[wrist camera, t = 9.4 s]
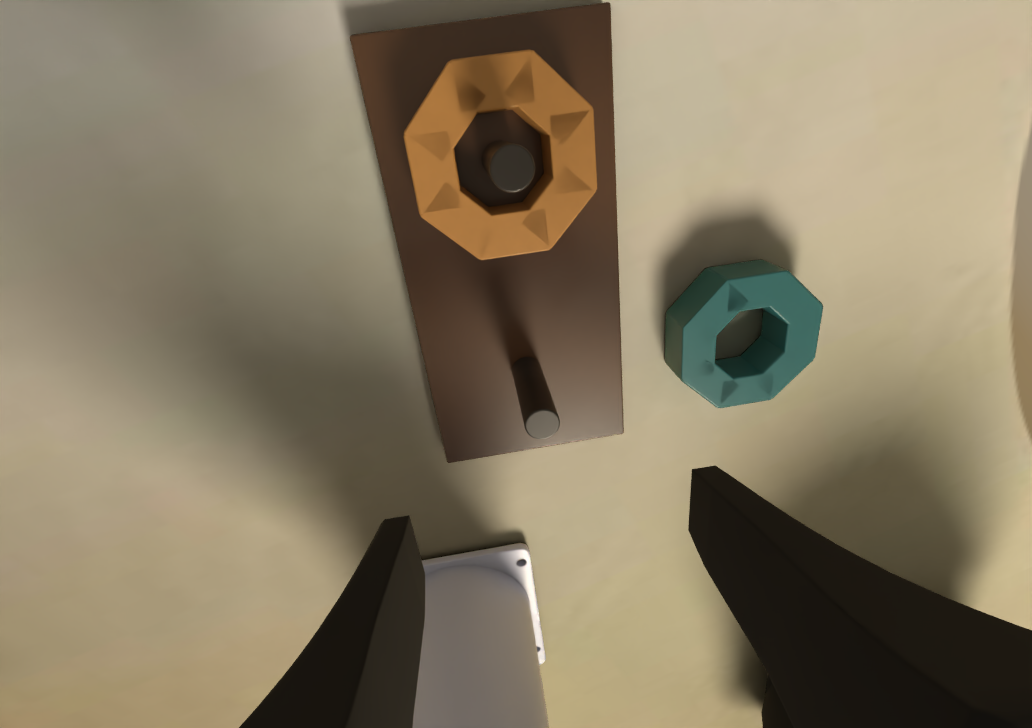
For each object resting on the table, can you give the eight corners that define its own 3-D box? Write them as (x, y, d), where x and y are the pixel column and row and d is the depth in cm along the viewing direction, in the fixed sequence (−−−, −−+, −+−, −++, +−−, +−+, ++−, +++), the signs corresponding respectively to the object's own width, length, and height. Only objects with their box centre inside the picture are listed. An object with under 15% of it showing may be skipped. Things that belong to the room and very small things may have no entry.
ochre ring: (587, 232, 18) (600, 243, 16) (432, 255, 18) (430, 268, 16) (576, 50, 15) (590, 40, 14) (396, 74, 15) (388, 67, 14)
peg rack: (618, 424, 23) (658, 496, 18) (447, 453, 22) (445, 534, 18) (603, 6, 16) (662, -42, 11) (353, 39, 15) (311, 1, 11)
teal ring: (784, 375, 23) (809, 393, 21) (664, 395, 22) (680, 415, 21) (801, 252, 20) (831, 263, 18) (665, 273, 20) (684, 286, 18)
